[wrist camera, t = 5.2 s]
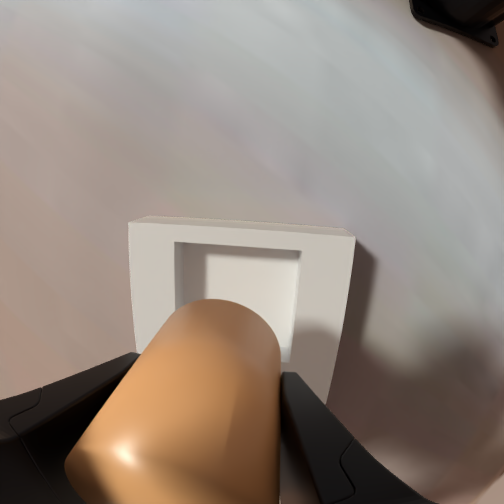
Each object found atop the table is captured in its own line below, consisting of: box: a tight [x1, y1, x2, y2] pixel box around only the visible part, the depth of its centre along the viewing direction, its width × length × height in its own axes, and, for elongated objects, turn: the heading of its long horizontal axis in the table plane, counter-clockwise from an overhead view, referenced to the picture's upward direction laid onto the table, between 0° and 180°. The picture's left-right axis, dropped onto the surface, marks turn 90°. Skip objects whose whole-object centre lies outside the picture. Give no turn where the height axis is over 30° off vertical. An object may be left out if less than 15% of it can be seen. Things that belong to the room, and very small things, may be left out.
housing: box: [128, 216, 356, 405], centre depth 14 cm, size 10×14×6 cm
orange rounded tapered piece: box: [64, 299, 281, 504], centre depth 7 cm, size 4×5×6 cm
